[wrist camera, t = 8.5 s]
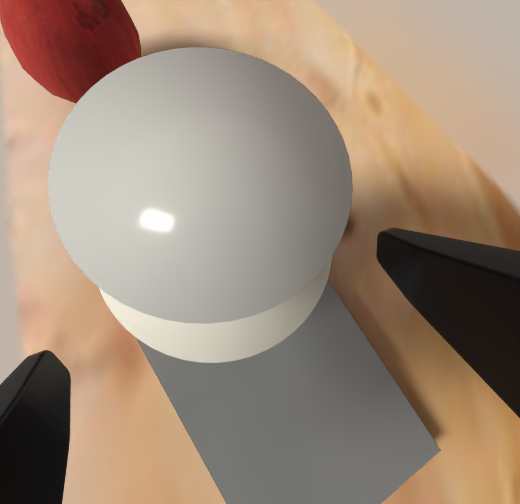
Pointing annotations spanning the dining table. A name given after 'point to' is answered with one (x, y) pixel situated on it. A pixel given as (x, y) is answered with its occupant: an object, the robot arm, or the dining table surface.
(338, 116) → the dining table surface
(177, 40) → the dining table surface
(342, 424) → the slate board
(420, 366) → the dining table surface
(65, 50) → the onion
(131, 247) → the white bottle
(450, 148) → the dining table surface
